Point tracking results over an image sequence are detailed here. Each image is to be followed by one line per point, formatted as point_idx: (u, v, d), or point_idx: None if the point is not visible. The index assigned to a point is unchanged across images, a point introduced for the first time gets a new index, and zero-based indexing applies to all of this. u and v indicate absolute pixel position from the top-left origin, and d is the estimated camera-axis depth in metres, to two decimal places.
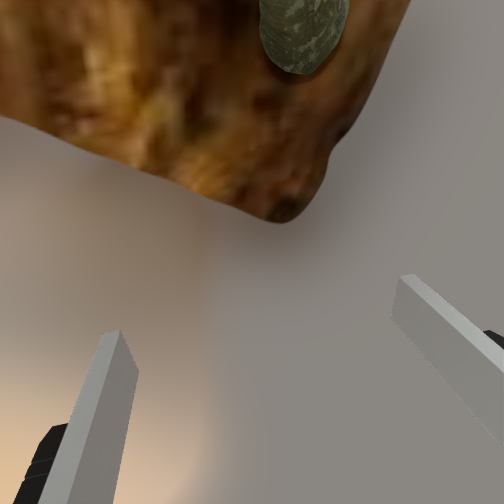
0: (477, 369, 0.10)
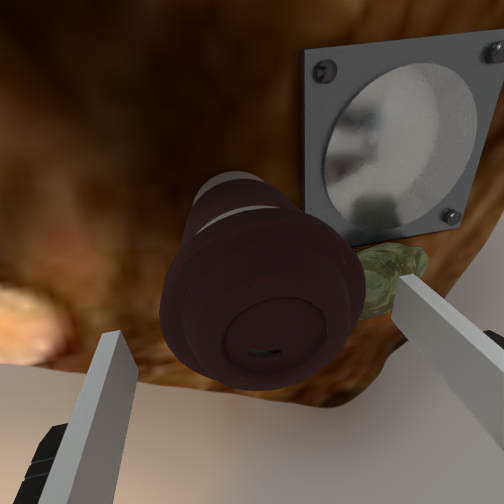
0: (477, 369, 0.10)
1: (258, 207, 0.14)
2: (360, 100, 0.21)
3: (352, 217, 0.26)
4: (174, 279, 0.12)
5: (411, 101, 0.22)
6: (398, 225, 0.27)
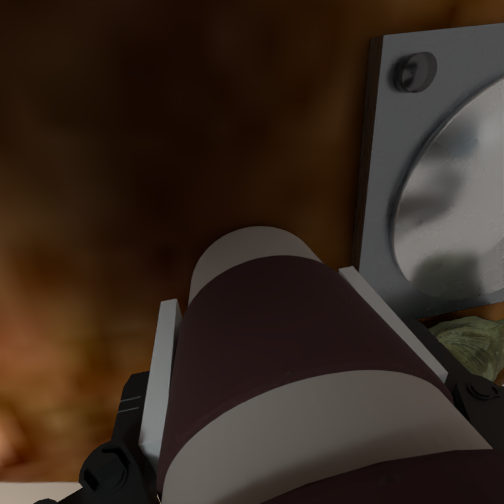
0: None
1: (343, 383, 0.06)
2: (464, 119, 0.13)
3: (426, 285, 0.18)
4: None
5: None
6: (487, 292, 0.19)
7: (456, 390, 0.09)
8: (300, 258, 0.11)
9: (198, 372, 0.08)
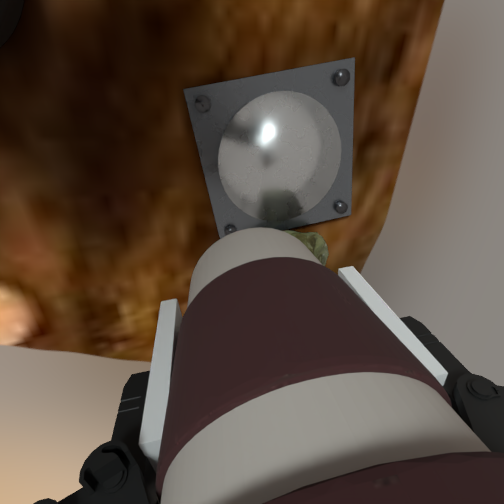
0: None
1: (341, 385, 0.06)
2: (235, 122, 0.27)
3: (252, 212, 0.32)
4: None
5: (277, 120, 0.28)
6: (294, 216, 0.33)
7: (456, 390, 0.09)
8: (299, 260, 0.11)
9: (197, 374, 0.08)
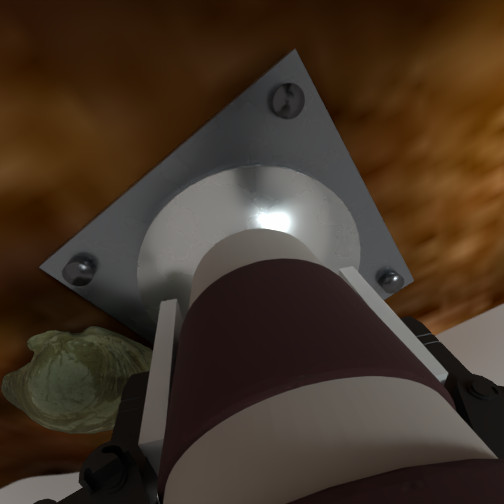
0: None
1: (357, 388, 0.06)
2: (282, 177, 0.14)
3: (146, 285, 0.16)
4: None
5: (314, 239, 0.16)
6: None
7: (456, 390, 0.09)
8: (307, 262, 0.11)
9: (206, 371, 0.08)
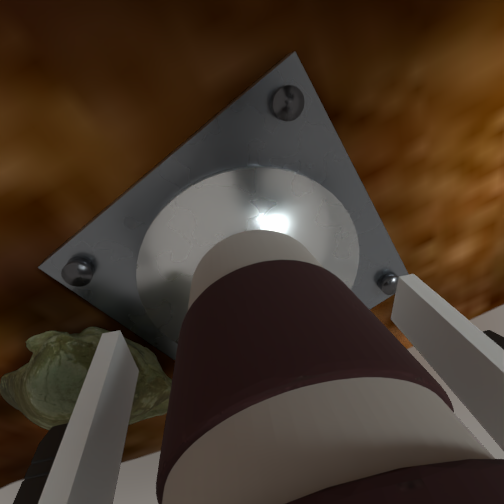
0: (477, 369, 0.10)
1: (355, 389, 0.06)
2: (282, 178, 0.14)
3: (145, 286, 0.16)
4: None
5: (313, 240, 0.16)
6: None
7: None
8: (306, 264, 0.11)
9: (205, 372, 0.08)
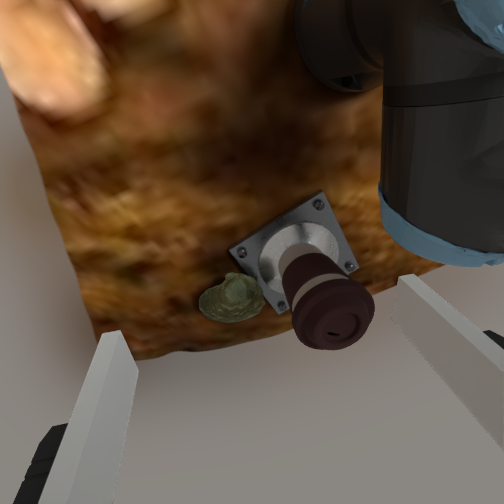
0: (477, 369, 0.10)
1: (335, 274, 0.35)
2: (314, 226, 0.43)
3: (262, 260, 0.44)
4: (309, 301, 0.32)
5: (322, 247, 0.45)
6: (268, 285, 0.47)
7: None
8: (323, 254, 0.40)
9: (303, 274, 0.36)
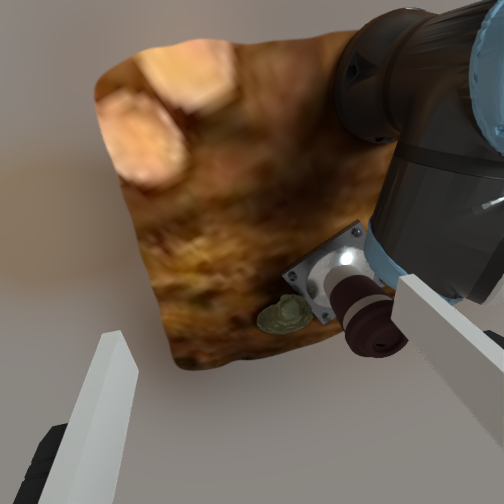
0: (477, 369, 0.10)
1: (378, 295, 0.42)
2: (353, 250, 0.50)
3: (310, 281, 0.52)
4: (360, 320, 0.40)
5: (360, 267, 0.52)
6: (314, 301, 0.54)
7: None
8: (364, 275, 0.47)
9: (351, 295, 0.44)
